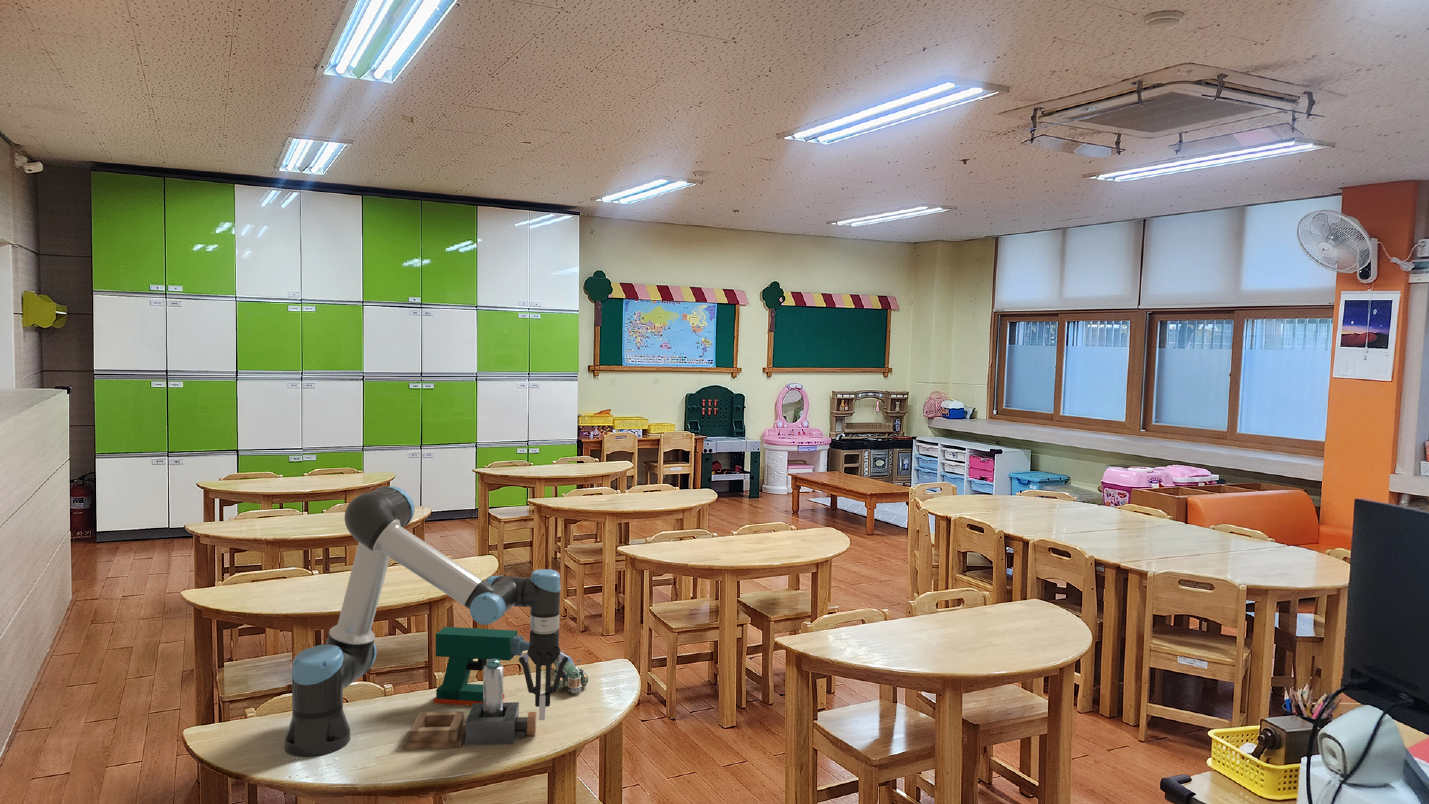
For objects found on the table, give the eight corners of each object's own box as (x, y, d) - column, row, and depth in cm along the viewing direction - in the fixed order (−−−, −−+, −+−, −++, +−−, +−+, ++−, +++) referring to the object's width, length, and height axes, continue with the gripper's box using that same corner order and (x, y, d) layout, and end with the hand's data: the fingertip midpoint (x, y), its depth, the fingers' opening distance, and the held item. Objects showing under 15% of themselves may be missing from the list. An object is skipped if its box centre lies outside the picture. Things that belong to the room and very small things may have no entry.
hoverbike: (560, 698, 252) (560, 670, 252) (541, 669, 275) (542, 643, 275) (592, 694, 256) (592, 666, 256) (571, 665, 279) (571, 640, 279)
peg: (481, 739, 225) (482, 664, 224) (484, 730, 230) (484, 657, 228) (501, 738, 225) (502, 664, 224) (503, 730, 230) (504, 657, 229)
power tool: (550, 700, 251) (551, 631, 250) (543, 709, 244) (543, 639, 243) (443, 693, 254) (443, 626, 253) (433, 703, 247) (433, 633, 246)
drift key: (504, 736, 226) (505, 718, 226) (506, 730, 230) (506, 712, 229) (535, 735, 227) (535, 717, 227) (536, 729, 230) (536, 711, 230)
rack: (403, 749, 218) (403, 733, 218) (415, 725, 232) (415, 710, 232) (460, 747, 220) (460, 731, 219) (469, 723, 233) (469, 709, 233)
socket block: (465, 745, 221) (465, 722, 220) (472, 725, 233) (473, 703, 232) (523, 743, 222) (523, 720, 222) (527, 723, 234) (527, 701, 234)
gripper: (517, 634, 223) (515, 724, 224) (569, 634, 224) (566, 723, 226) (520, 625, 230) (518, 712, 232) (570, 625, 232) (568, 711, 233)
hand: (542, 718), depth 229 cm, fingers closed
